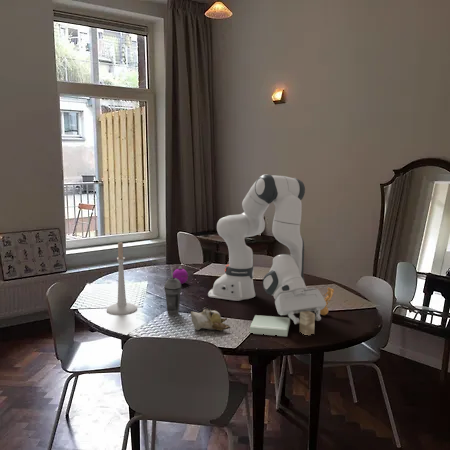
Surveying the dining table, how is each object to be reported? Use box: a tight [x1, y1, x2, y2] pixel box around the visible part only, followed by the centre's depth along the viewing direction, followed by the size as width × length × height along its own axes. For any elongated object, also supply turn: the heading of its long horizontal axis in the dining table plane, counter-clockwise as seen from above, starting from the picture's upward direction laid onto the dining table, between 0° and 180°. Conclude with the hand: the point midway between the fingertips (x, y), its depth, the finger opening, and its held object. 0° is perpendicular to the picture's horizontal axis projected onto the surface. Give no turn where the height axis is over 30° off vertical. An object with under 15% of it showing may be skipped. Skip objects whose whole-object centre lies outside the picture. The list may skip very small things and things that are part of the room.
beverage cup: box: [164, 266, 182, 317], centre depth 202 cm, size 7×7×20 cm
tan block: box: [299, 311, 316, 336], centre depth 182 cm, size 4×4×8 cm
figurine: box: [320, 286, 335, 316], centre depth 203 cm, size 8×6×12 cm
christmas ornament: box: [172, 264, 189, 285], centre depth 250 cm, size 8×8×10 cm
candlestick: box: [106, 241, 138, 316], centre depth 206 cm, size 13×13×30 cm
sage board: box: [249, 314, 291, 337], centre depth 188 cm, size 14×14×3 cm
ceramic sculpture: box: [190, 307, 231, 331], centre depth 187 cm, size 11×9×15 cm
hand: (308, 321), depth 182 cm, fingers open, 8 cm apart
